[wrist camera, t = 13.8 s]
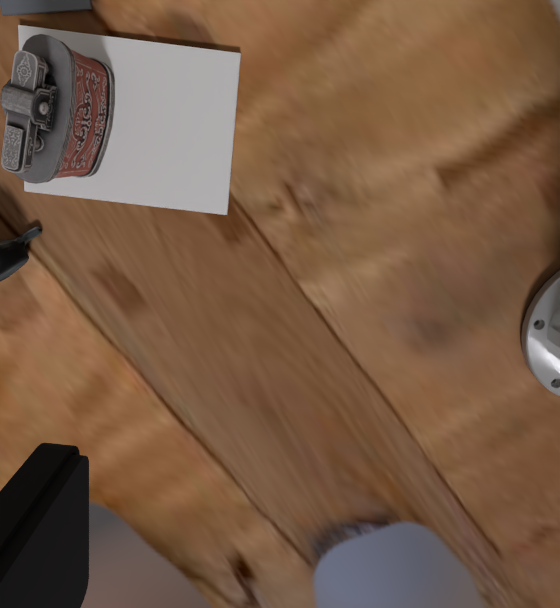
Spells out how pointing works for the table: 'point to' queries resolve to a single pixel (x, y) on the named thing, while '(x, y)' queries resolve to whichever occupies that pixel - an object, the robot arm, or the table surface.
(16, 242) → the dark elongated piece
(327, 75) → the table surface
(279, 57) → the table surface
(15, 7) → the plate
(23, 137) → the lighter
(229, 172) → the paper
